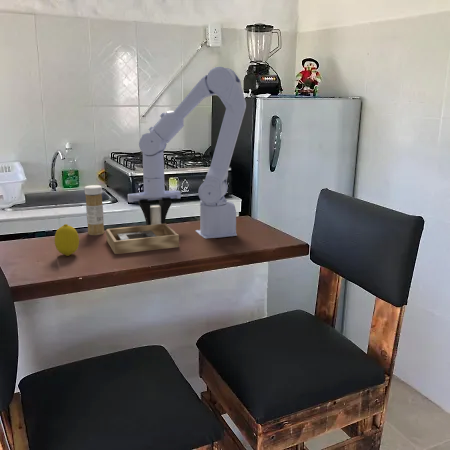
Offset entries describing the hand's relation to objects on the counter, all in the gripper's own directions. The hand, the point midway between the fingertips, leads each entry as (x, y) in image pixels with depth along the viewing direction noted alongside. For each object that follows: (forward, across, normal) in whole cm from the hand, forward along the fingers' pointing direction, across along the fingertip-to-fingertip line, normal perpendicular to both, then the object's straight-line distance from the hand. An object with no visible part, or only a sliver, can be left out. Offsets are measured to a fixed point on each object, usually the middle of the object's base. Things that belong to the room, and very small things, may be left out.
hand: (155, 225), depth 142 cm
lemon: (+2, +25, +14) cm, 29 cm away
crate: (+2, +6, +12) cm, 13 cm away
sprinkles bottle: (+2, +16, -3) cm, 16 cm away
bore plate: (+1, +8, +12) cm, 14 cm away
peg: (+2, 0, 0) cm, 2 cm away
